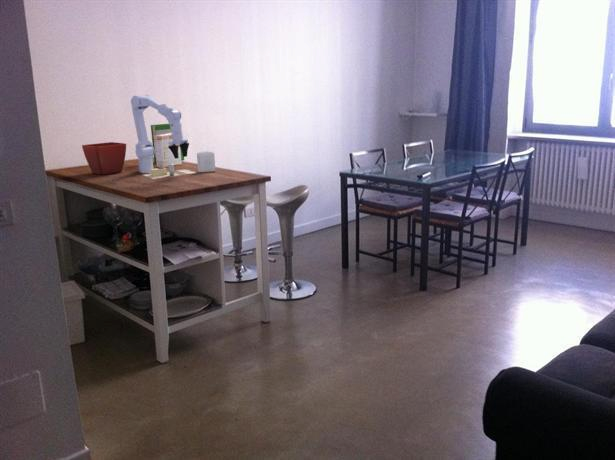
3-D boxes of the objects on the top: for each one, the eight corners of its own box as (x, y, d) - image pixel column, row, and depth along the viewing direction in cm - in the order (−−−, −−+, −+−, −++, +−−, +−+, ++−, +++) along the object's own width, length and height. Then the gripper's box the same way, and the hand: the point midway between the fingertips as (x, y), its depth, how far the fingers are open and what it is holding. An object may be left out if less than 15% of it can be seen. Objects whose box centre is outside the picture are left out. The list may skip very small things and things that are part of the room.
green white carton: (158, 163, 385) (155, 125, 379) (154, 162, 391) (150, 125, 385) (184, 160, 395) (181, 123, 389) (179, 159, 401) (176, 122, 395)
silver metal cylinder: (168, 175, 332) (167, 164, 331) (173, 174, 334) (172, 164, 332) (170, 176, 330) (169, 165, 328) (175, 175, 331) (174, 164, 330)
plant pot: (114, 169, 369) (111, 141, 364) (130, 172, 355) (127, 143, 351) (84, 173, 356) (81, 145, 351) (99, 176, 342) (95, 147, 338)
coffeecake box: (174, 163, 383) (171, 132, 378) (182, 164, 379) (179, 132, 374) (156, 166, 371) (152, 135, 366) (163, 167, 367) (160, 135, 362)
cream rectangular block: (150, 175, 335) (149, 168, 334) (164, 173, 339) (163, 166, 338) (153, 176, 331) (152, 169, 330) (167, 174, 335) (166, 167, 334)
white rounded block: (213, 170, 348) (211, 149, 345) (216, 171, 345) (215, 149, 342) (197, 172, 343) (195, 151, 340) (200, 173, 339) (198, 151, 336)
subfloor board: (141, 176, 338) (141, 174, 338) (185, 170, 352) (185, 169, 351) (153, 180, 323) (152, 178, 323) (197, 174, 337) (197, 172, 337)
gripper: (173, 133, 319) (178, 158, 322) (190, 130, 332) (194, 155, 334) (163, 134, 322) (168, 159, 325) (180, 132, 335) (184, 156, 337)
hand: (181, 157), depth 330 cm, fingers open, 7 cm apart
